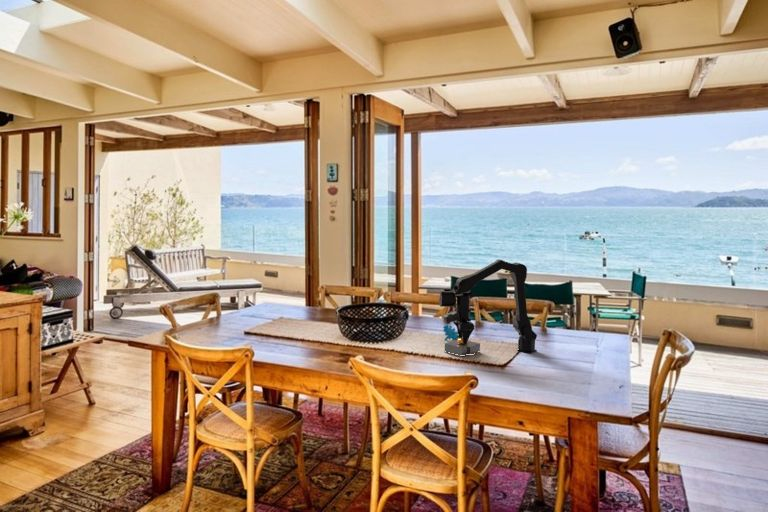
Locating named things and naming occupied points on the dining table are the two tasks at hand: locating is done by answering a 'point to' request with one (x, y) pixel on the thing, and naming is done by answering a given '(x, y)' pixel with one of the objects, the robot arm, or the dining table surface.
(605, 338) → the dining table surface
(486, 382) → the dining table surface
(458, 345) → the block
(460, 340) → the pin
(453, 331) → the blue lobed piece
